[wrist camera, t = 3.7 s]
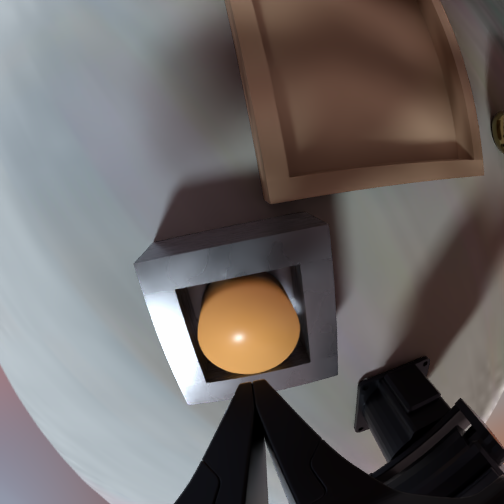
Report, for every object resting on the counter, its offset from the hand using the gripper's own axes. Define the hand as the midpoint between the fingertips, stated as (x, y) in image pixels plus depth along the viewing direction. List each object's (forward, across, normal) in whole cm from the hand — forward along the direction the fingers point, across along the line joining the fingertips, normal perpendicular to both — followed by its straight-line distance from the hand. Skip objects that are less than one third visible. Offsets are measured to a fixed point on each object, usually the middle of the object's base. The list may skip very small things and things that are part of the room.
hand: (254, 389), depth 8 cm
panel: (+7, 0, 0) cm, 7 cm away
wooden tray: (+7, -9, -12) cm, 17 cm away
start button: (+6, 0, 0) cm, 6 cm away
